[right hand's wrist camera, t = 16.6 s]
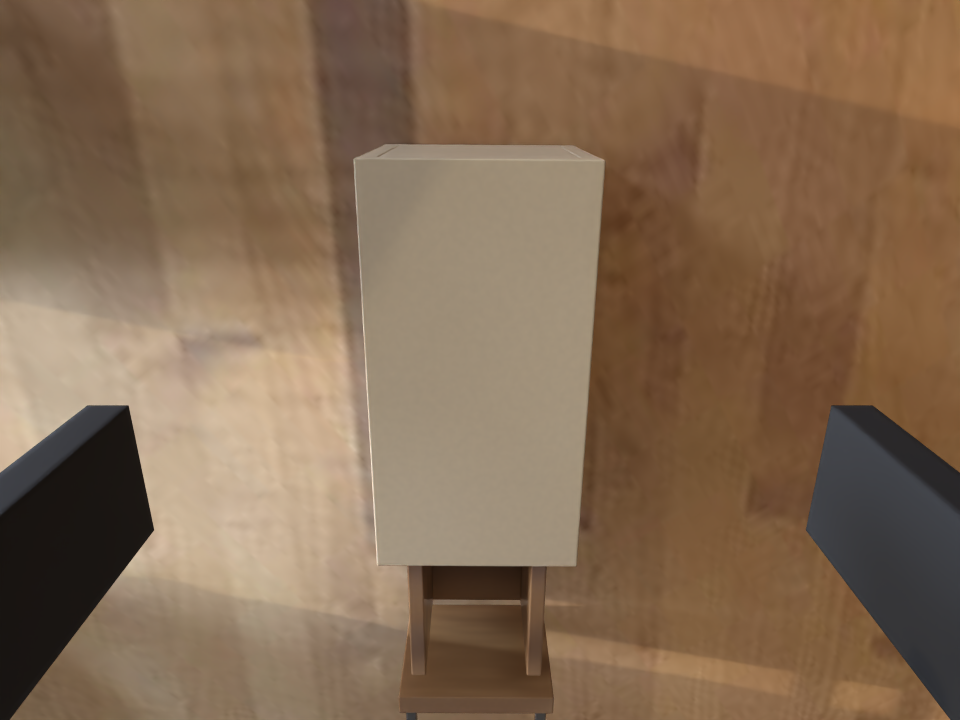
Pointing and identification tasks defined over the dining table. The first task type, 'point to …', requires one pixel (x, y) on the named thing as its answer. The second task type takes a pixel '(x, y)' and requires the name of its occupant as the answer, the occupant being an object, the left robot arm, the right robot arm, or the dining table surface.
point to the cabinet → (478, 347)
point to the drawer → (476, 642)
